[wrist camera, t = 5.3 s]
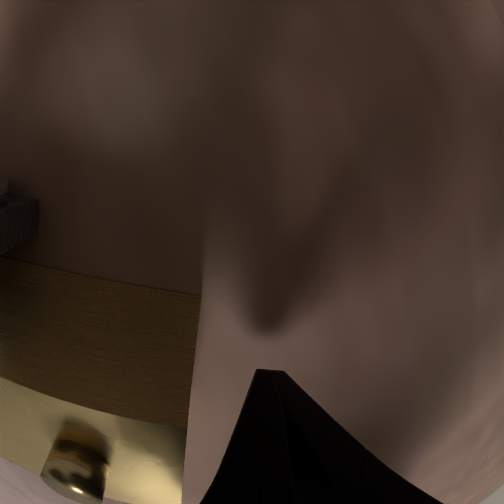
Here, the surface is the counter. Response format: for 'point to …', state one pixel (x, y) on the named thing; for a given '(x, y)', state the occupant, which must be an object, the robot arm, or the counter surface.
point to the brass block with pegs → (95, 383)
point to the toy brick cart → (16, 218)
